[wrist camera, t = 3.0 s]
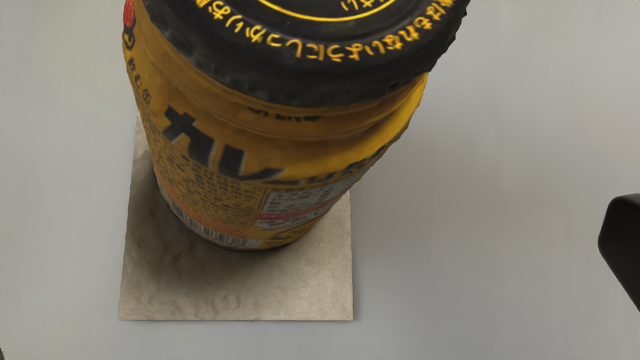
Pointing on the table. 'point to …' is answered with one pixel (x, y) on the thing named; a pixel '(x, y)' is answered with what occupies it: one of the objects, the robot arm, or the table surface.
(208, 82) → the condiment
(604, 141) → the table surface
